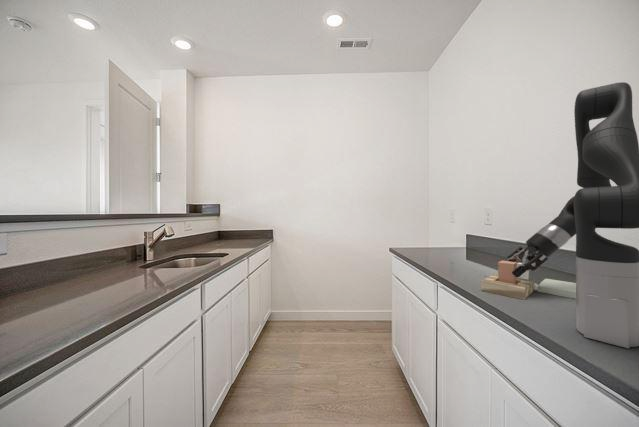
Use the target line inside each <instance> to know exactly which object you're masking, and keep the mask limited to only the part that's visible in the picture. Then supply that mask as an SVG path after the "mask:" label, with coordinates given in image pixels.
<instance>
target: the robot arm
mask: <svg viewBox="0 0 639 427" xmlns="http://www.w3.org/2000/svg"><path fill="white" fill-rule="evenodd" d="M632 90H633V89H632V87H631V85H630V84H629V82H628V83H627V82H625V81H624V82H623V81H622V82H615V83H610V84H606V85H600V86H596V87H592V88H588V89H584V90H580V92H578V94H577V96H576V97H575V101H574V111H573V112H574V127H575V128H574V130H575V142H576V150H577V173H576V174H577V175H576V184H577V186H579V187H580V189H578V190H577V191H576V193H575V195H574V196H572V197H570V199H569V200H568V201H567V202H566V203H565V205H564V207H563V208H562V210H561V211H560V213H559V214H558V216H555V218H554V219H553V220H551V221H550V222H549V223H548V224H545V225H544V226H543V227H542V228H540V229H539V230H538V231H536V232H535V233H534V234H533V235H531V237H529V238H528V239H527V240H526V241H525V244H526V245H527V246H526V247H525V248H523V247H522V246H520V247H518V248H516V249H515V250H514V251H513V252H511V253H510V254H509V255H507V257H506V258H507V261H510V262H517V263H522V264H521V265H522V266H521V265H520V266H519V267H517V268H516V269H515V270H514V271H513V272H512V274H513V275H514V276H515V277H520V276H521V275H522V274H523V273H525V272H526V271H529V272H530V271H535V270H537V269H538V268H539V267H541V265H543V264H544V263H545V262H546V261H548V259H549V257H551V256H552V255H553V254H554V253H556V252H557V251H558V250H559V249H561V248H562V247H563V246H565V245H566V244H567V243H568V241H569V240H571V239H572V238H573V237H574V236H575V242H576V243H575V283H576V299H575V311H576V312H575V313H576V314H575V316H576V331H578V332H579V333H581V334H582V335H583V337H585V338H586V339H591V340H595V341H599V342H602V343H606V344H610V345H614V346H617V347H621V348H625V349H630V348H634V347H639V249H638V248H636V247H634V246H632V245H628V244H625V243H621V242H617V241H614V240H611V239H608V238H606V237H604V236H602V235H600V234H599V233H597V232H596V229H621V230H622V229H625V230H626V229H629V230H630V229H639V141H638V140H639V139H638V134H637V130H636V126H635V122H634V121H635V120H634V117H633V91H632ZM602 119H603V120H602ZM593 120H594V121H595V120H602V121H600V122H599V123H598V124H596V125H595V126H593V128H590V121H593ZM611 181H612V182H613V183H614V184H615V185H613V186H612V184H611Z"/></svg>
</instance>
